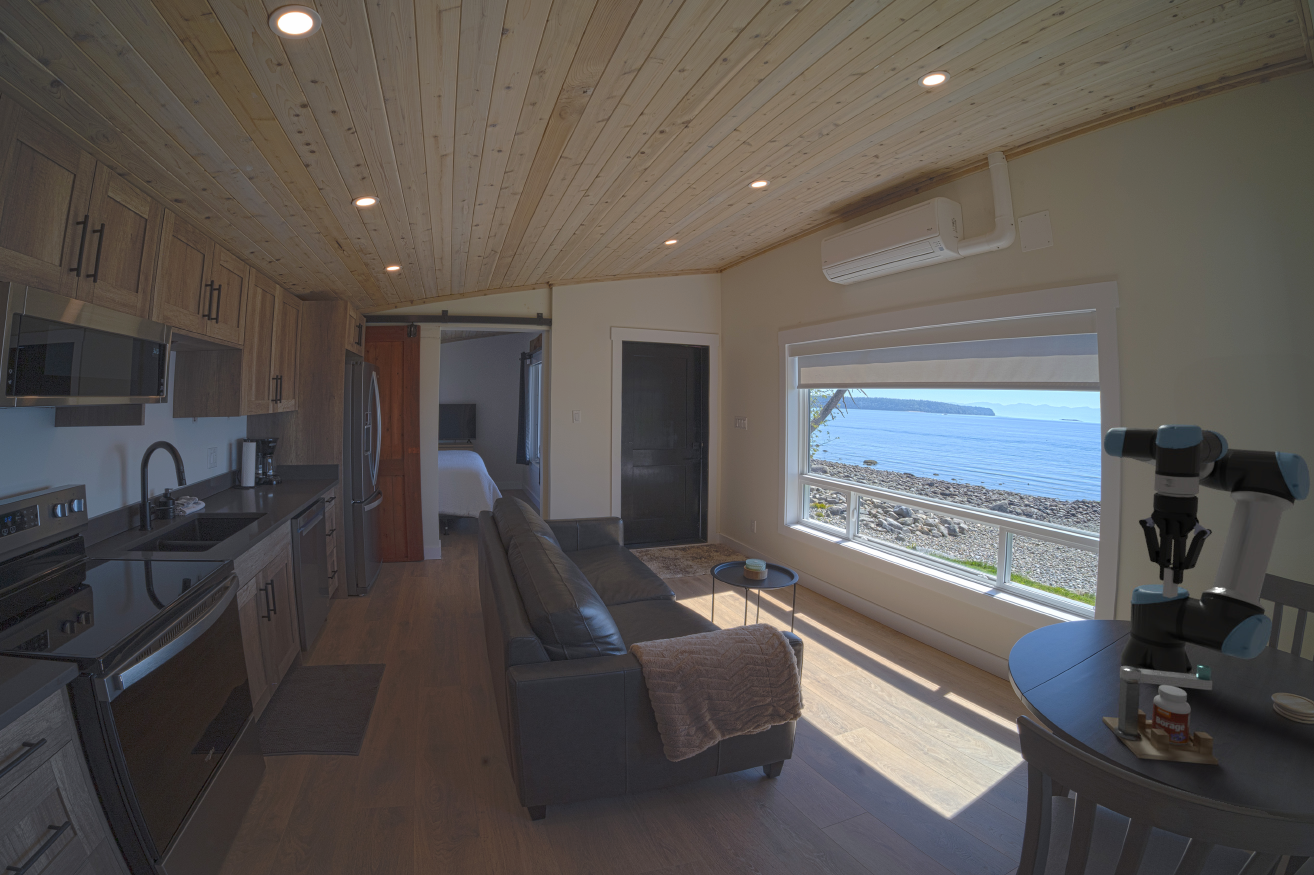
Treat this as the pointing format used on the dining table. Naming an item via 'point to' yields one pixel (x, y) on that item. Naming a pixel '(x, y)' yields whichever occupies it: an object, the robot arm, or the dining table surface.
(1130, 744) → the socket board
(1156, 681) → the keeper bar
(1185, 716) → the pill bottle
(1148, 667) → the robot arm
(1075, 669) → the dining table surface
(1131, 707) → the post
